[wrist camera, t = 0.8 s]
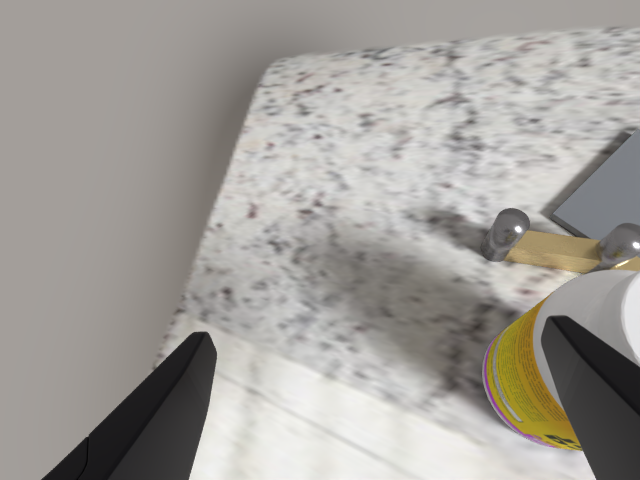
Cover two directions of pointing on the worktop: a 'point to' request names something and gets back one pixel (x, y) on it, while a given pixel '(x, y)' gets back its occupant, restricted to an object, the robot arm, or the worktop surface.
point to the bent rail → (560, 246)
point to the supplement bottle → (529, 360)
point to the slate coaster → (606, 195)
